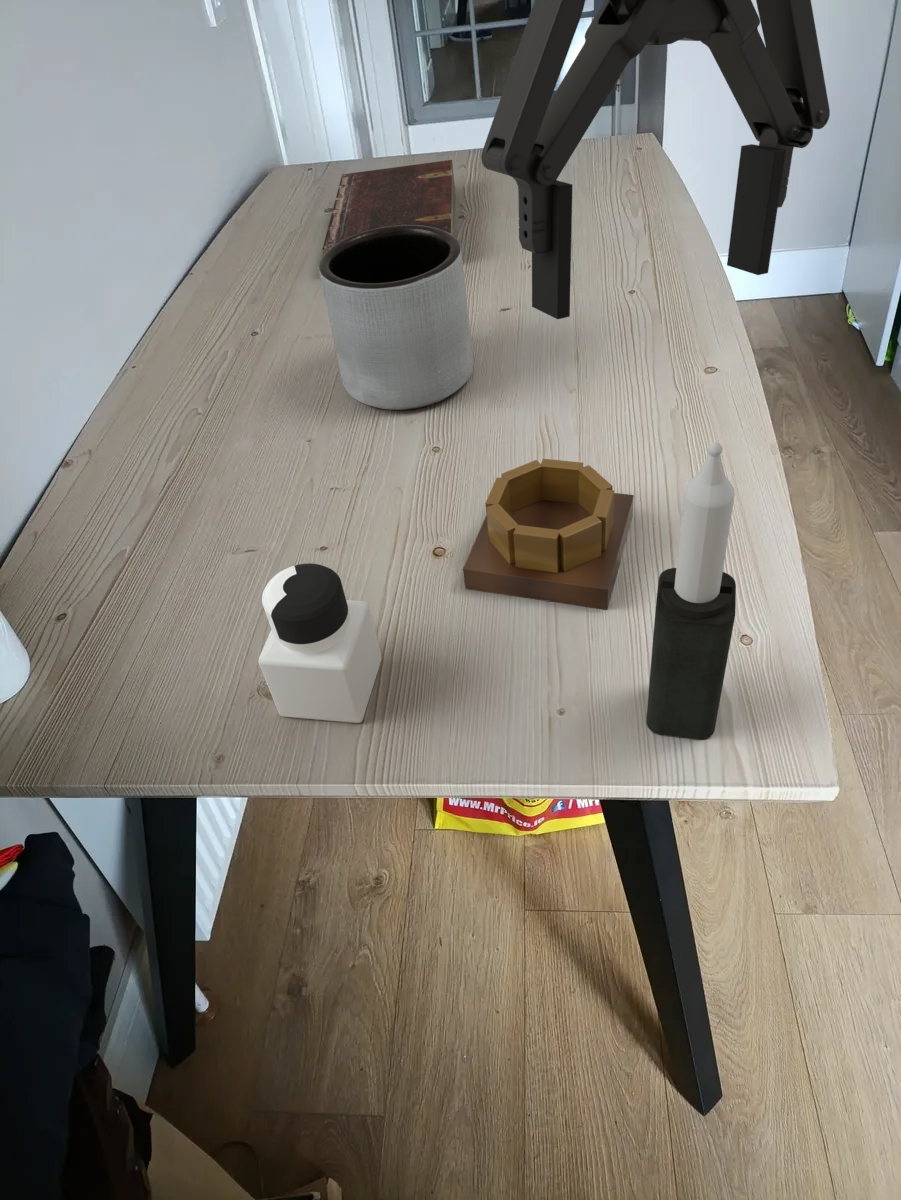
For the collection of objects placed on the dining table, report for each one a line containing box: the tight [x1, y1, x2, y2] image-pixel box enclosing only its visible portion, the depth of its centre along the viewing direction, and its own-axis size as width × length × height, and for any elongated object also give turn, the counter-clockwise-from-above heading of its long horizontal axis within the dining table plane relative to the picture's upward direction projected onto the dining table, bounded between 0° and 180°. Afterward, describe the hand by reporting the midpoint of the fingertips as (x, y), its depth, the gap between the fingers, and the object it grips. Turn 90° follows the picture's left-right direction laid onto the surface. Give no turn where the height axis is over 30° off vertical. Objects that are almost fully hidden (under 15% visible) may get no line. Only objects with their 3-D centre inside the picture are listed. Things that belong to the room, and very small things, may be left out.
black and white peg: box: [645, 441, 737, 741], centre depth 59 cm, size 5×5×25 cm
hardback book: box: [321, 159, 456, 257], centre depth 136 cm, size 29×19×5 cm, turn 0°
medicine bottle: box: [258, 562, 382, 724], centre depth 69 cm, size 7×7×12 cm
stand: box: [462, 458, 635, 610], centre depth 80 cm, size 13×13×6 cm
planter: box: [318, 225, 474, 411], centre depth 101 cm, size 16×16×16 cm
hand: (653, 290), depth 50 cm, fingers open, 13 cm apart
